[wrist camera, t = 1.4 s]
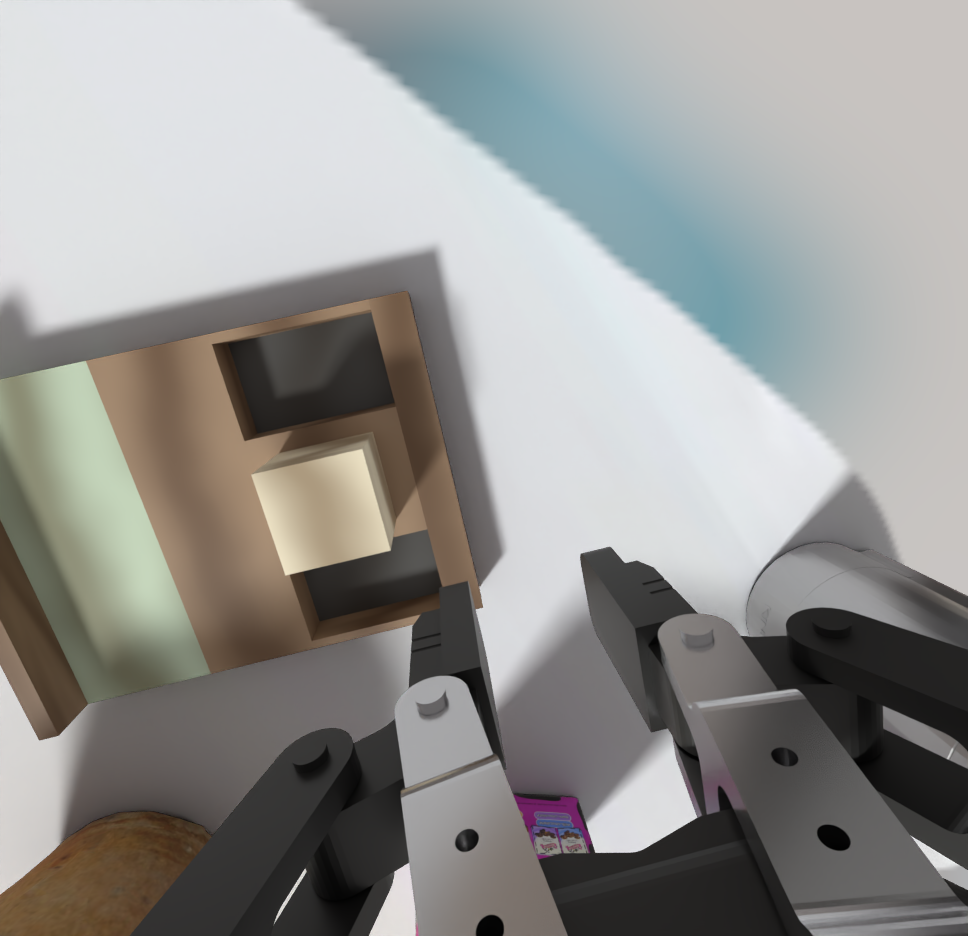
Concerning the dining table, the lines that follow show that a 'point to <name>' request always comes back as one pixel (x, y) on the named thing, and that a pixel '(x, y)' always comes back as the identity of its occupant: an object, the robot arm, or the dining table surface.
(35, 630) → the board
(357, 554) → the block
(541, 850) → the candy bar box
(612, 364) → the dining table surface
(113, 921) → the potted plant
